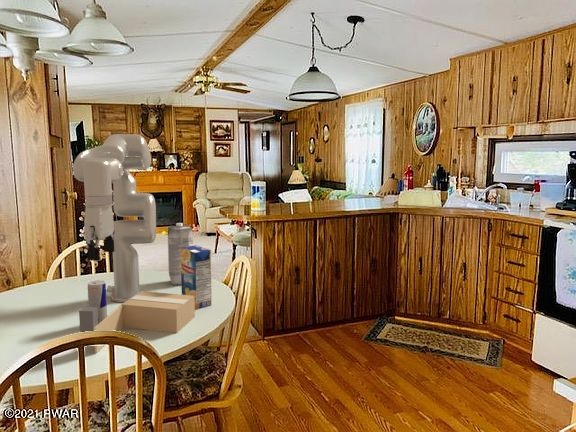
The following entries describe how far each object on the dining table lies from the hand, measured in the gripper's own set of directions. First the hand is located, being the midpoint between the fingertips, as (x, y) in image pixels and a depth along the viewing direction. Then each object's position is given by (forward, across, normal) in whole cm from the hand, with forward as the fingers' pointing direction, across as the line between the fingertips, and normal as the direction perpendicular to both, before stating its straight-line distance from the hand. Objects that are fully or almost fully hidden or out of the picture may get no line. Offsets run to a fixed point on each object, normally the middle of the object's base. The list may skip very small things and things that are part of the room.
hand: (102, 255), depth 134 cm
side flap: (+27, +1, 0) cm, 27 cm away
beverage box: (+28, -33, +20) cm, 48 cm away
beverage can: (+28, -10, -8) cm, 30 cm away
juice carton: (+29, -59, +7) cm, 66 cm away
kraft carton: (+27, -14, +12) cm, 33 cm away
